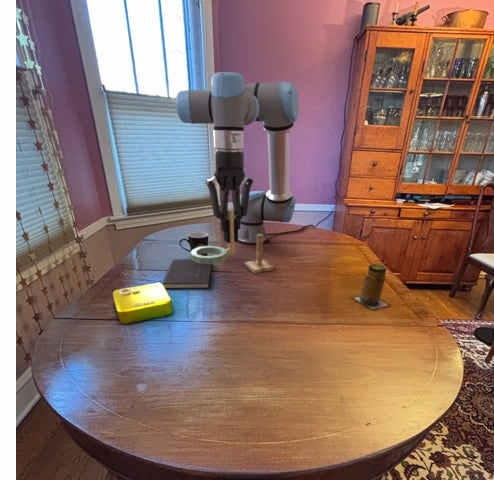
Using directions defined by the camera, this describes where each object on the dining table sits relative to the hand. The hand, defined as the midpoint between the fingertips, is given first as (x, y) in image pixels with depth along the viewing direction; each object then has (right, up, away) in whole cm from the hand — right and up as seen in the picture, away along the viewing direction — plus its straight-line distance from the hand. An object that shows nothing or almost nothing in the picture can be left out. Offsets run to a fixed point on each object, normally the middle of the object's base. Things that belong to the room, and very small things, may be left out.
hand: (231, 241), depth 89 cm
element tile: (-27, -20, +2) cm, 34 cm away
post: (+9, -2, +32) cm, 34 cm away
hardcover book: (-18, -7, +24) cm, 31 cm away
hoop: (-5, -5, 0) cm, 7 cm away
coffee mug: (-19, +3, +41) cm, 45 cm away
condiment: (+45, -18, +9) cm, 50 cm away
